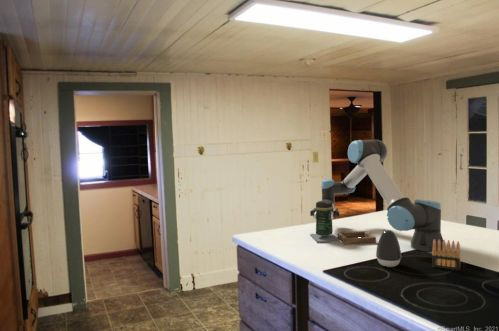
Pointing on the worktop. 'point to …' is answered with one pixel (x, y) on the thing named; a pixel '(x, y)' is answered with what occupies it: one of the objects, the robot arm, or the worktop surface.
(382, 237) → the grey egg shaped container
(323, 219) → the coffee jar
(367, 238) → the walnut collar
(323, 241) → the slate mat
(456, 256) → the ammunition clip
